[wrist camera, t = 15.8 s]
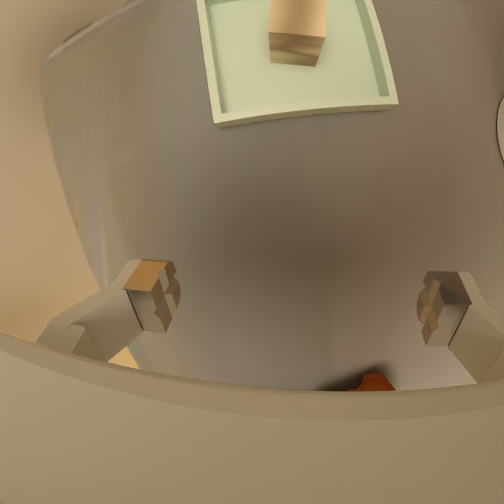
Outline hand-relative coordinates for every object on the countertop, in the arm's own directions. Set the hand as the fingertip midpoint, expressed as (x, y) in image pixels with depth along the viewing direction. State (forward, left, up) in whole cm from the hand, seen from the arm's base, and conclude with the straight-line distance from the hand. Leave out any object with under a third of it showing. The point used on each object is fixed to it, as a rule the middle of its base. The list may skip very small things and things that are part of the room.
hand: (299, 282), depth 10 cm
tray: (-4, -17, -24) cm, 29 cm away
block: (-4, -17, -23) cm, 29 cm away
